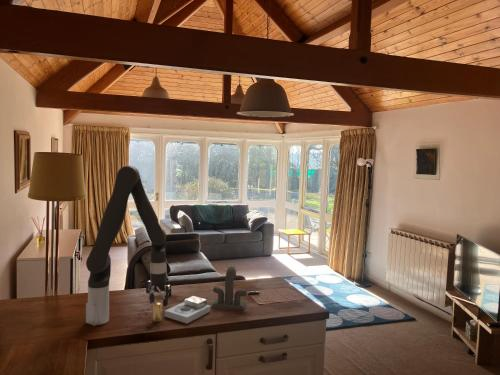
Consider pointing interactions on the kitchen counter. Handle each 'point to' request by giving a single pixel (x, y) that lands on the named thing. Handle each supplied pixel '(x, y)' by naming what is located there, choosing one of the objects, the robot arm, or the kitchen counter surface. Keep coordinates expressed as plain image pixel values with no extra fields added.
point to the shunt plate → (195, 301)
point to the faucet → (229, 293)
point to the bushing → (157, 311)
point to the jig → (186, 312)
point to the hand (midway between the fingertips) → (158, 304)
